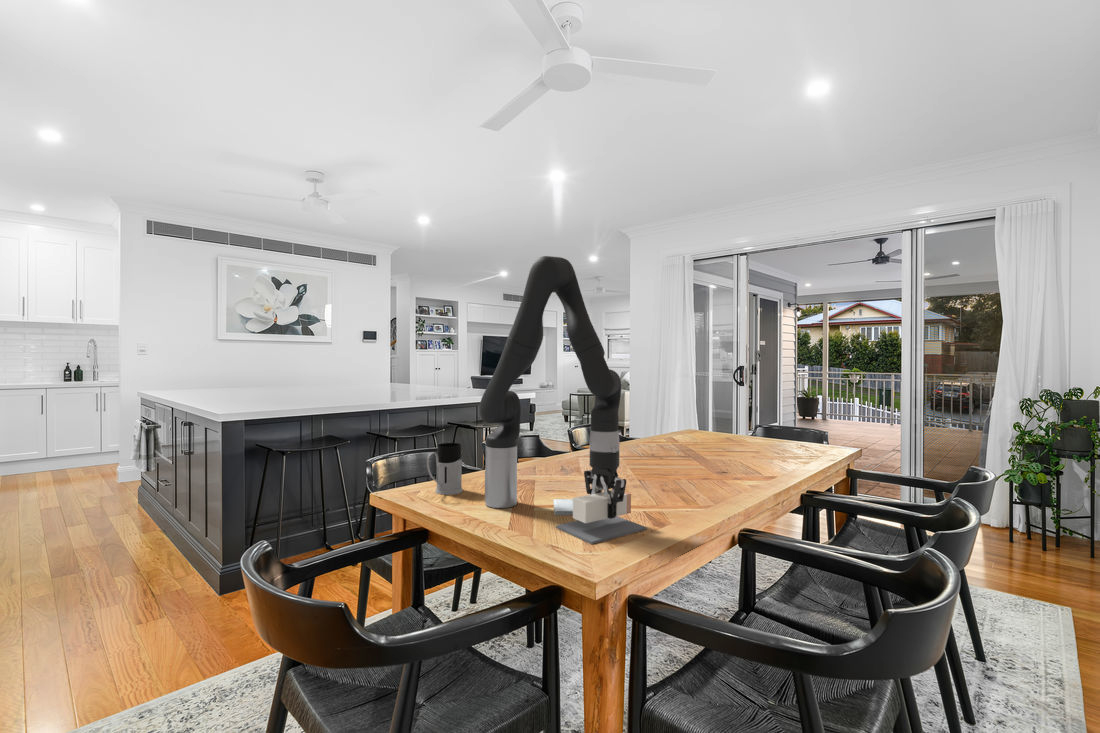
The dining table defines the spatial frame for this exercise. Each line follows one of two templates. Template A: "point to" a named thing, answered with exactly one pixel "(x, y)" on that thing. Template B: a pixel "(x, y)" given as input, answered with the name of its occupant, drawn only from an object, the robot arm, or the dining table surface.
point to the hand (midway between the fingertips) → (604, 514)
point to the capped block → (598, 507)
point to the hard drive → (563, 506)
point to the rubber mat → (601, 529)
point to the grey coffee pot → (448, 468)
